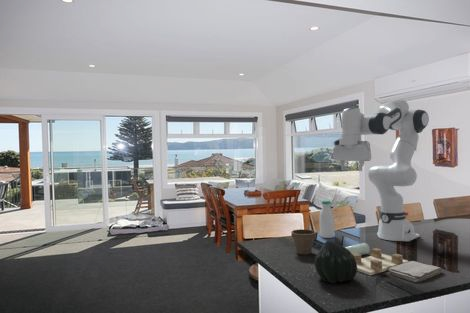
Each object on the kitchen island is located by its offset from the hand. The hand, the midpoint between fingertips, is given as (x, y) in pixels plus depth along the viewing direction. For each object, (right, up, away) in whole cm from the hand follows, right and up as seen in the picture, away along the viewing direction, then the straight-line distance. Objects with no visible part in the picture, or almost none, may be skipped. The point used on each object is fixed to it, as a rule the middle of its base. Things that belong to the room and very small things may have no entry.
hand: (351, 170), depth 163 cm
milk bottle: (-4, -38, +27) cm, 47 cm away
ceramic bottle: (-3, -39, -9) cm, 40 cm away
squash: (-18, -40, -35) cm, 56 cm away
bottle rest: (+3, -39, -20) cm, 44 cm away
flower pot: (-23, -39, -1) cm, 45 cm away
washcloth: (+14, -39, -30) cm, 51 cm away
